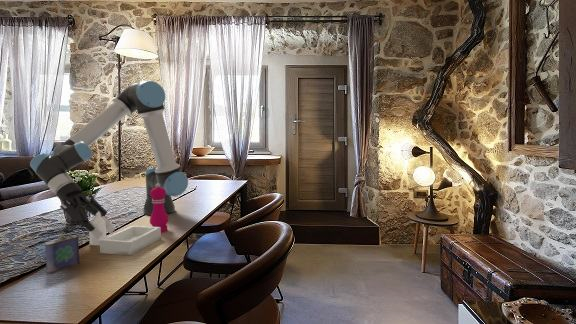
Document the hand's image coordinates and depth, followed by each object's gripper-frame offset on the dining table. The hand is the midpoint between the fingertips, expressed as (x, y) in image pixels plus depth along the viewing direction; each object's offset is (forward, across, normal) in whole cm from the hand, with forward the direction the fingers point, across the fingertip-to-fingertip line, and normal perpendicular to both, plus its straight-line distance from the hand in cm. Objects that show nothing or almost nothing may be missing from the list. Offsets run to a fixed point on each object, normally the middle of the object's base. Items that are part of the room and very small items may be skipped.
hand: (106, 233), depth 125 cm
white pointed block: (0, 0, -6) cm, 6 cm away
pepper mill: (+10, -18, +4) cm, 21 cm away
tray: (+10, 0, +5) cm, 11 cm away
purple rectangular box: (+5, +22, -1) cm, 23 cm away
